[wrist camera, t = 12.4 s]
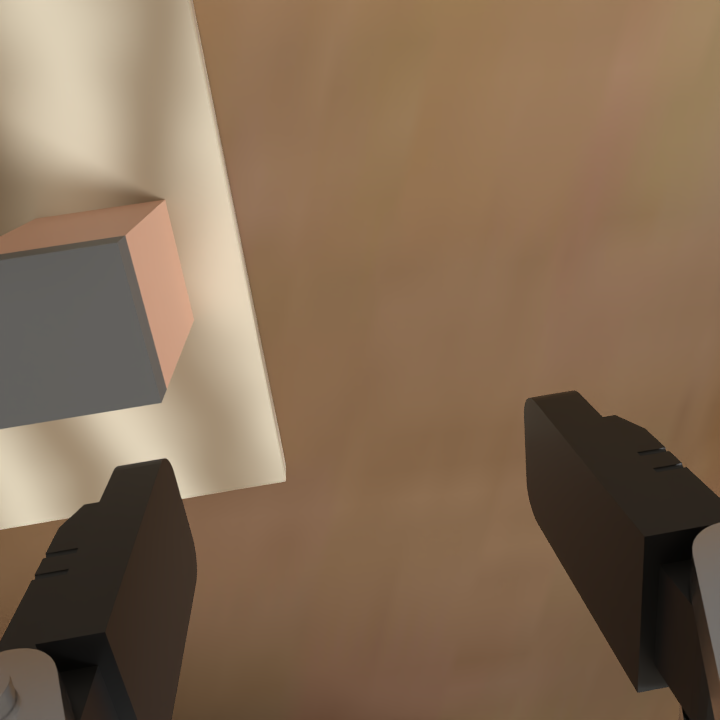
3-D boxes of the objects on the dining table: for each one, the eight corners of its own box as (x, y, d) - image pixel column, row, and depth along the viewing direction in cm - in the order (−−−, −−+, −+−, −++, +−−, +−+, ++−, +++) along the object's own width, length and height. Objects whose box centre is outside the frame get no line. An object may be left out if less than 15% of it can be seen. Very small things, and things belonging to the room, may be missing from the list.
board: (181, -55, 24) (175, -64, 23) (285, 464, 32) (285, 481, 31) (-335, 11, 23) (-375, 6, 22) (-90, 527, 31) (-107, 547, 30)
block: (165, 199, 26) (117, 242, 18) (194, 320, 28) (161, 403, 20) (35, 218, 25) (-67, 270, 18) (73, 338, 27) (-4, 430, 20)
